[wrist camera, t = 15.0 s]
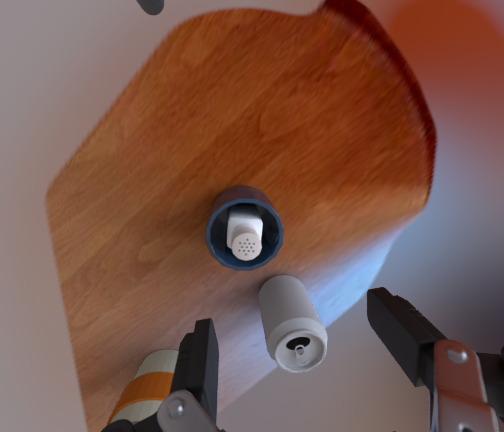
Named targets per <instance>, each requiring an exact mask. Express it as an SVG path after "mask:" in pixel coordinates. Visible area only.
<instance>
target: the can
mask: <svg viewBox="0 0 504 432" xmlns="http://www.w3.org/2000/svg"><path fill="white" fill-rule="evenodd" d="M258 299H259V306H260V311H261V317H262V323H263V328H264V334H265V339H266V345H267V350H268V352H269V354H270V356H271V358H272V359H274V360H275V361H276V363H277V365H278V366H279V367H280V368H282V369H283V370H285V371H288V372H292V373H300V372H306V371H309V370H311V369H313V368H315V367H316V366H318V365H319V364H320V363H321V361H322V360H323V359H324V357H325V354H326V352H327V345H326V344H327V333H326V331H325V328H324V326H323V324H322V322H321V320H320V318H319V316H318V314H317V312H316V310H315V308H314V306H313V304H312V302H311V299H310V297H309V295H308V293H307V291H306V289H305V287H304V285H303V284H302V283H301V281H300V280H299V279H297V278H295V277H293V276H289V275H280V276H276V277H273V278H271V279H269V280H268V281H267V282H265V283H264V284H263V286H262V287H261V289H260V291H259V295H258Z"/></svg>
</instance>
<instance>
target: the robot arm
mask: <svg viewBox="0 0 504 432" xmlns="http://www.w3.org/2000/svg"><path fill="white" fill-rule="evenodd" d="M367 317H368V321H369V323H370V325H371V327H372V328H373V330H374V331H375V332H376V334H377V335H378V337H379V338H380V339H381V341H382V342H383V343H384V345H385V346H386V347H387V349H388V350H389V352H390V353H391V354H392V356H393V357H394V358H395V360H396V361H397V363H398V364H399V365H400V367H401V368H402V370H403V371H404V372H405V374H406V375H407V376H408V378H409V379H410V381H411V382H412V383H413V385H414V386H415V387H419V386H424V385H426V387H427V388H428V389H429V432H500V431H499V427H498V422H497V417H496V416H498V417H499V418H500V419H501V420H502V422H503V423H504V347H503V348H502V350H501V354H500V355H499V354H487V353H477V352H474V351H473V350H472V349H471V348H470V347H468V346H467V345H465V344H463V343H461V342H458V341H455V340H449V339H447V338H446V337H445V336H444V335H443V334H442V333H441V332H440V331H439V330H438V329H437V328H436V327H434V325H433V324H432V323H430V322H429V321H428V320H427V319H426V318H425V317H424V316H422V314H421V313H420V312H419V311H418V310H416V308H415V307H414V306H413V305H412V304H410V303H409V302H408V301H407V300H405V299H403V298H401V297H399V296H398V295H397V296H393V295H392V294H391V293H390V292H389V291H387V289H385V288H384V287H380V288H375V289H369V290H368V291H367ZM178 353H179V354H178V356H177V362H176V365H175V370H174V374H173V379H172V383H171V388H170V392H169V395H168V396H167V397H166V398H165V399H164V400H163V402H162V403H161V404H160V406H159V409H158V411H157V412H155V413H154V414H153V415H151V416H149V417H147V418H145V419H143V420H142V421H140V422H138V423H136V424H134V425H133V424H132V423H131V422H130V421H129V420H127V419H120V420H116V421H114V422H112V423H110V424H109V425H107V426H106V427H105V428H104V429H103V430H102V431H101V432H226V431H225V430H223V429H222V430H219V429H218V427H217V426H216V415H217V389H218V364H219V349H218V342H217V338H216V333H215V329H214V325H213V321H212V319H211V318H208V319H203V320H197V321H196V324H195V330H194V332H193V333H187V334H186V335H185V337H184V338H183V340H182V341H181V343H180V347H179V352H178Z"/></svg>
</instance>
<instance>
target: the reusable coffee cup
mask: <svg viewBox="0 0 504 432" xmlns="http://www.w3.org/2000/svg"><path fill="white" fill-rule="evenodd" d="M178 352H179V351H177V350H171V349H163V350H158V351H156V352H153V353H151V354H150V355H148V356H147V357H146V358H145V359H144V361H143V362H142V364H141V366H140V368H139V370H138V372H137V373H136V375H135V377H134V379H133V381H131V382H130V383H129V384H128V386H127V387H126V388H125V390H124V392H123V394H122V396H121V397H120V399H119V401H118V403H117V405H116V407H115V408H114V410H113V412H112V414H111V416H110V418H109V420H108V422H107V425H109V424H110V423H112V422H114V421H116V420H120V419H127V420H129V421H130V422H131V423H132V424H133V425H134V424H136V423H138V422H140V421H142V420H143V419H145V418H147V417H149V416H151V415H153V414H154V413H155V412H157V411H158V409H159V406H160V404H161V403H162V402H163V400H164V399H165V398H166V397H167V396H168V395H169V392H170V388H171V383H172V379H173V374H174V370H175V365H176V362H177V356H178V354H179V353H178Z"/></svg>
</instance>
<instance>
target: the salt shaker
mask: <svg viewBox="0 0 504 432" xmlns="http://www.w3.org/2000/svg"><path fill="white" fill-rule="evenodd" d="M262 226H263V223H262V220H261V217H260V215H259V212H258V209H257V207H255V206H247V205H232V206H229V208H228V219H227V246H228V247H229V248H231V249H232V252H233V254H234V255H235V256H236V257H237V258H238V259H241V260H245V261H246V260H251V259H254V258H255V257H256V256H258V255H259V253H260V251H261V249H262V246H261V237H262Z"/></svg>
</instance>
